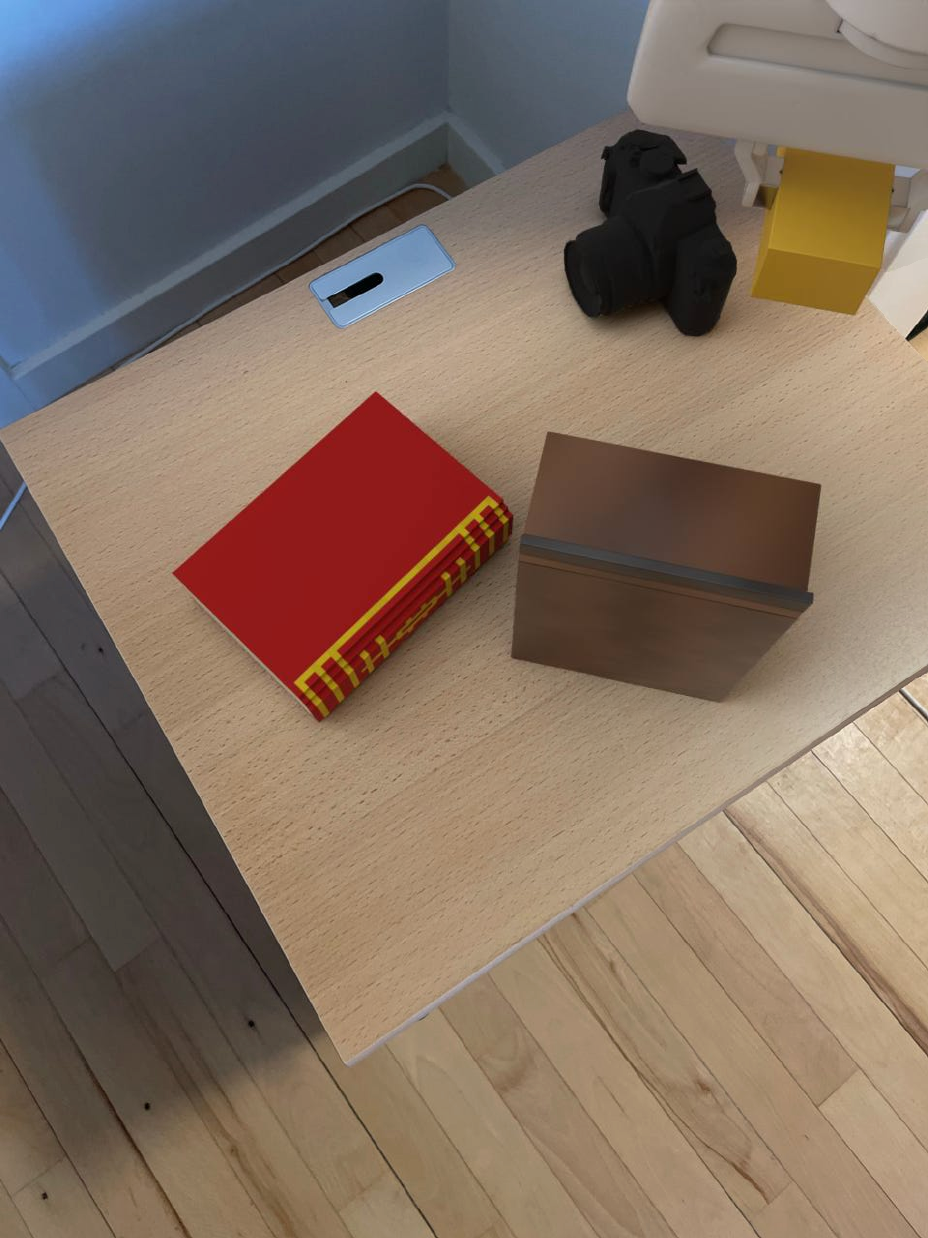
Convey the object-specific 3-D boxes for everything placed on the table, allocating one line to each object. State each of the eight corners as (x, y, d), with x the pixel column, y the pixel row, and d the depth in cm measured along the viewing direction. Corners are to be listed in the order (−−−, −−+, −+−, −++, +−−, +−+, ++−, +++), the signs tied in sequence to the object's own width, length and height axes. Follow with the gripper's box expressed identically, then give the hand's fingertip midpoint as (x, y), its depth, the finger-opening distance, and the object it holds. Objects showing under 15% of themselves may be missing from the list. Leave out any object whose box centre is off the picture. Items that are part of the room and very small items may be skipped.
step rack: (748, 525, 68) (829, 392, 52) (720, 703, 64) (799, 619, 48) (550, 485, 69) (568, 343, 53) (510, 657, 65) (518, 561, 49)
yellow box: (876, 168, 49) (903, 111, 46) (854, 316, 47) (881, 267, 43) (776, 151, 50) (796, 94, 47) (749, 296, 47) (768, 247, 44)
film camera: (529, 228, 77) (534, 137, 68) (639, 184, 78) (657, 89, 69) (619, 380, 72) (637, 303, 64) (735, 331, 73) (768, 249, 65)
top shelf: (815, 492, 50) (830, 472, 48) (799, 619, 48) (813, 603, 46) (546, 439, 51) (548, 418, 49) (518, 561, 49) (519, 543, 47)
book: (321, 726, 64) (308, 707, 59) (194, 599, 67) (171, 573, 62) (511, 539, 68) (513, 508, 63) (383, 428, 71) (375, 390, 66)
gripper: (635, -60, 34) (596, 224, 47) (1265, 30, 32) (1040, 301, 45) (667, -183, 36) (621, 123, 49) (1262, -106, 34) (1047, 192, 47)
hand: (825, 209), depth 47 cm, fingers closed on yellow box, 5 cm apart
